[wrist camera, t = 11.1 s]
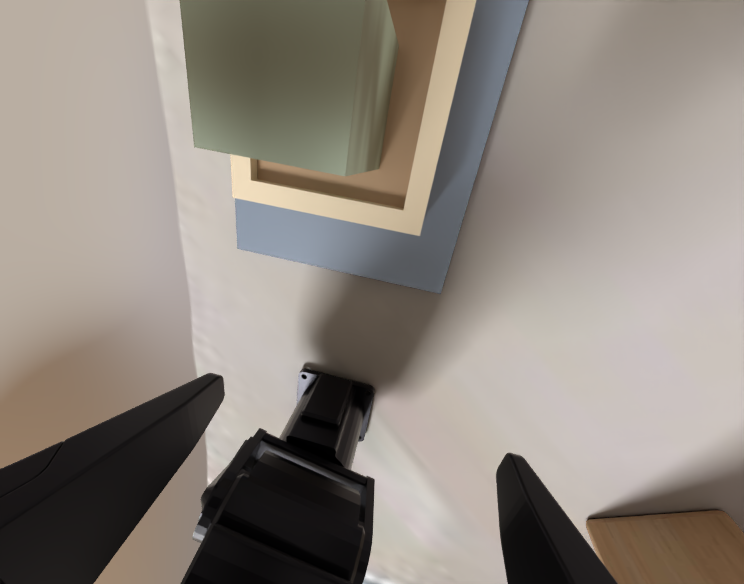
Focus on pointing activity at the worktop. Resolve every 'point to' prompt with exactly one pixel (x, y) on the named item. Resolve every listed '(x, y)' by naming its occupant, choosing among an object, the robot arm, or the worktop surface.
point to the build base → (445, 191)
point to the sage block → (291, 80)
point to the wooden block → (670, 548)
